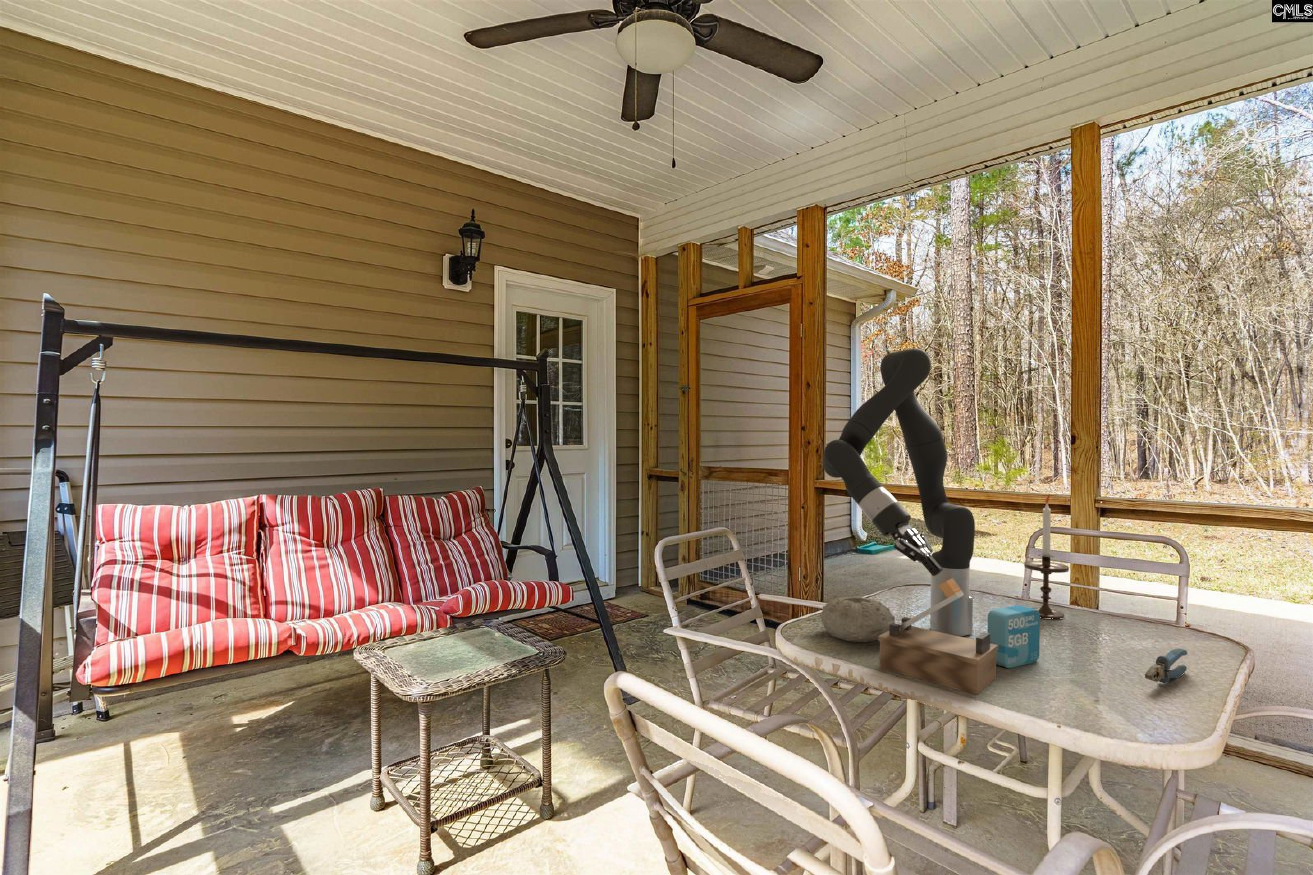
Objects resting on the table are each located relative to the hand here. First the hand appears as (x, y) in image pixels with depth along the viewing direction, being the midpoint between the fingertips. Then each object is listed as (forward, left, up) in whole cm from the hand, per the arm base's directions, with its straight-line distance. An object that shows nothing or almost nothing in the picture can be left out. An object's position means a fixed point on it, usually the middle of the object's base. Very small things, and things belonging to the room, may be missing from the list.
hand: (938, 573), depth 136 cm
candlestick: (-51, -44, -22) cm, 71 cm away
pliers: (-46, +5, -22) cm, 51 cm away
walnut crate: (0, 0, -22) cm, 22 cm away
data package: (-20, -7, -22) cm, 31 cm away
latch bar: (+1, -1, -9) cm, 10 cm away
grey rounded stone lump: (+10, -24, -22) cm, 33 cm away
